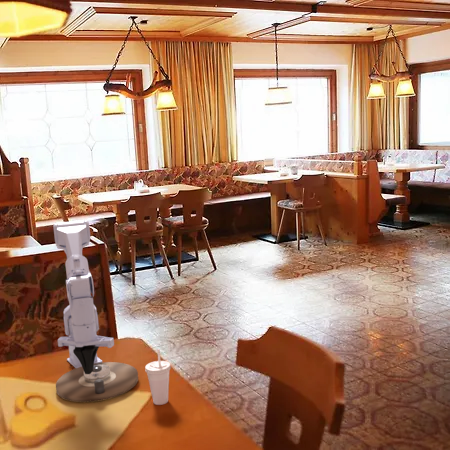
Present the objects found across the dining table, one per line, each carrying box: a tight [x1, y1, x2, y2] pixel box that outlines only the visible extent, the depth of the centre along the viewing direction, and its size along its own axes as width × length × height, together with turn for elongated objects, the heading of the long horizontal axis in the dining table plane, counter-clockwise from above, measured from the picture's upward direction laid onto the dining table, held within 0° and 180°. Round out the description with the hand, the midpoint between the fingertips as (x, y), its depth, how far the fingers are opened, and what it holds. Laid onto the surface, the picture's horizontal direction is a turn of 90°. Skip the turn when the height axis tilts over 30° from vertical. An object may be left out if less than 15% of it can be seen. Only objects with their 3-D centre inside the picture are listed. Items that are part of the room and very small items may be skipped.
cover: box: [84, 365, 110, 384], centre depth 161 cm, size 7×7×3 cm
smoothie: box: [144, 348, 171, 406], centre depth 149 cm, size 6×6×14 cm
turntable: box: [55, 361, 139, 403], centre depth 161 cm, size 22×22×4 cm
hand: (89, 372), depth 152 cm, fingers closed
